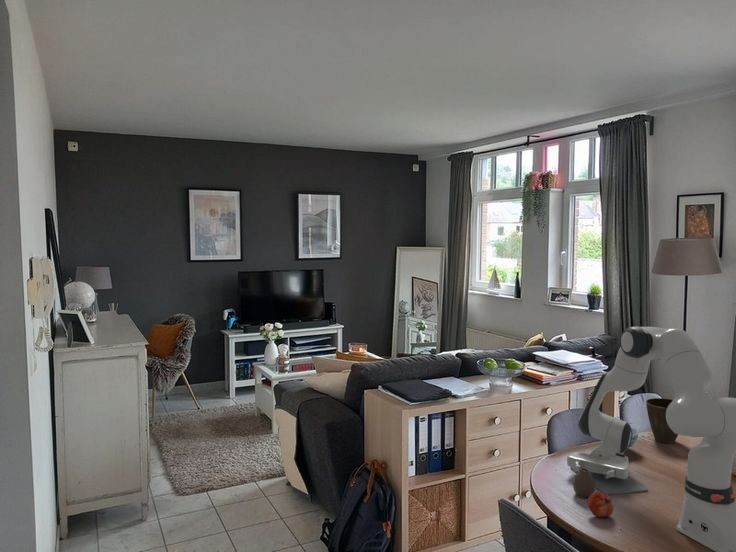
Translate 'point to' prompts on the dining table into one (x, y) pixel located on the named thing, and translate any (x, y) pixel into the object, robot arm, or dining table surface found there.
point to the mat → (615, 484)
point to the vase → (584, 483)
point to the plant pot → (660, 420)
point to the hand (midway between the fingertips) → (591, 472)
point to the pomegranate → (600, 504)
